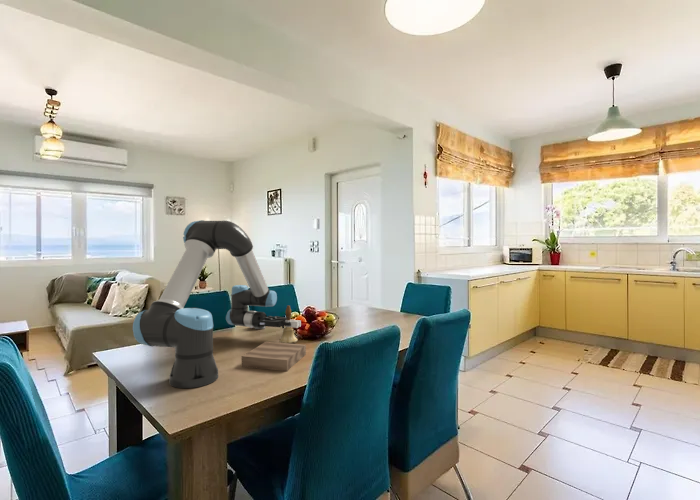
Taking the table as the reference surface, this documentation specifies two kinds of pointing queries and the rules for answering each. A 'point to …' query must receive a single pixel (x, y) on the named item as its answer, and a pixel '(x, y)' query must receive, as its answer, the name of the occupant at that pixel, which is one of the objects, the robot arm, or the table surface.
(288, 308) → the hand bell
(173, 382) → the robot arm
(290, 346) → the walnut plinth
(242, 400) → the table surface
